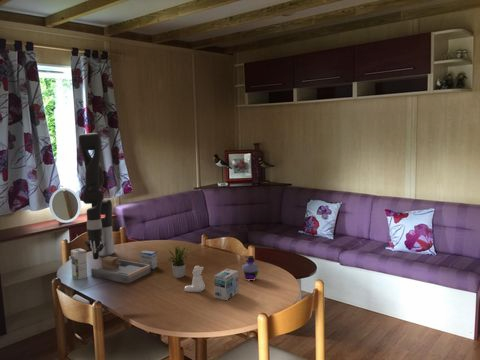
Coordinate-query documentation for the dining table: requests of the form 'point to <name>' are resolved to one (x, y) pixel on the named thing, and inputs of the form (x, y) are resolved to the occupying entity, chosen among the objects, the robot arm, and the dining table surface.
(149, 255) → the medicine box
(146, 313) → the dining table surface
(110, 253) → the robot arm
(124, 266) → the grey tray
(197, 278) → the white creature statuette
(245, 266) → the potion bottle
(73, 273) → the syrup box
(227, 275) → the light bulb box
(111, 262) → the walnut block
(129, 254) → the dining table surface
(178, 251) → the house plant
